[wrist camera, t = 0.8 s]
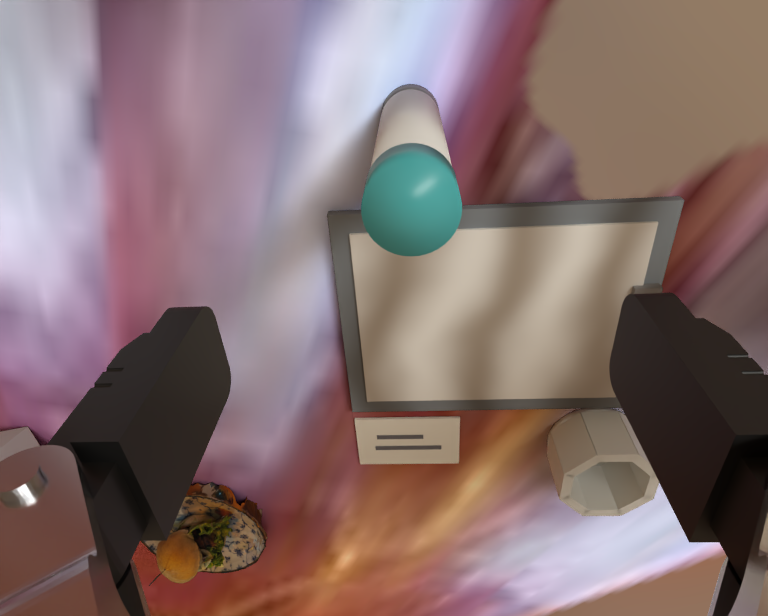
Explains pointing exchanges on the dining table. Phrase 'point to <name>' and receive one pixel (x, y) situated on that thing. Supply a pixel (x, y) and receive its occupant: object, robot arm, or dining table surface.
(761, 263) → the dining table surface
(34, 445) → the white faceted polyhedron
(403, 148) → the marker
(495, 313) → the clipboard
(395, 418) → the word card
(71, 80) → the dining table surface
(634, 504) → the pen cup
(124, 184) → the dining table surface
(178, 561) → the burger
